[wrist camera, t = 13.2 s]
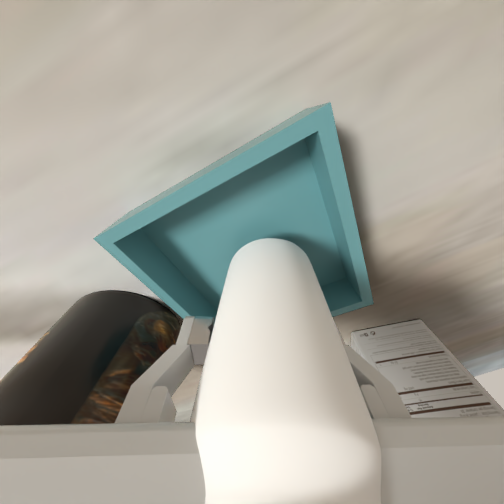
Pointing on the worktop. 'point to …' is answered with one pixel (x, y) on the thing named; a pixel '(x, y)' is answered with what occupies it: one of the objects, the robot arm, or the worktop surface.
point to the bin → (250, 219)
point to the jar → (87, 361)
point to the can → (281, 392)
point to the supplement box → (423, 371)
